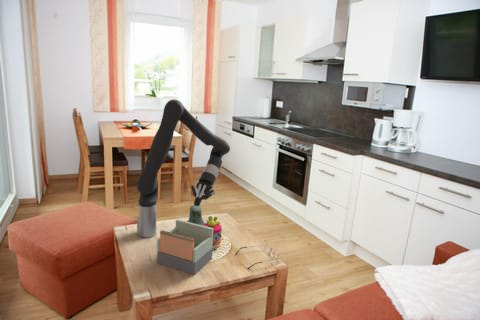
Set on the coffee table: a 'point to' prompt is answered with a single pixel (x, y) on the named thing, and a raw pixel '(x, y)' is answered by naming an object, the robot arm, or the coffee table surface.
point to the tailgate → (176, 245)
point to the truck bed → (200, 251)
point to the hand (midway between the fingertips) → (195, 205)
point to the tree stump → (195, 215)
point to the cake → (215, 231)
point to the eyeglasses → (265, 249)
